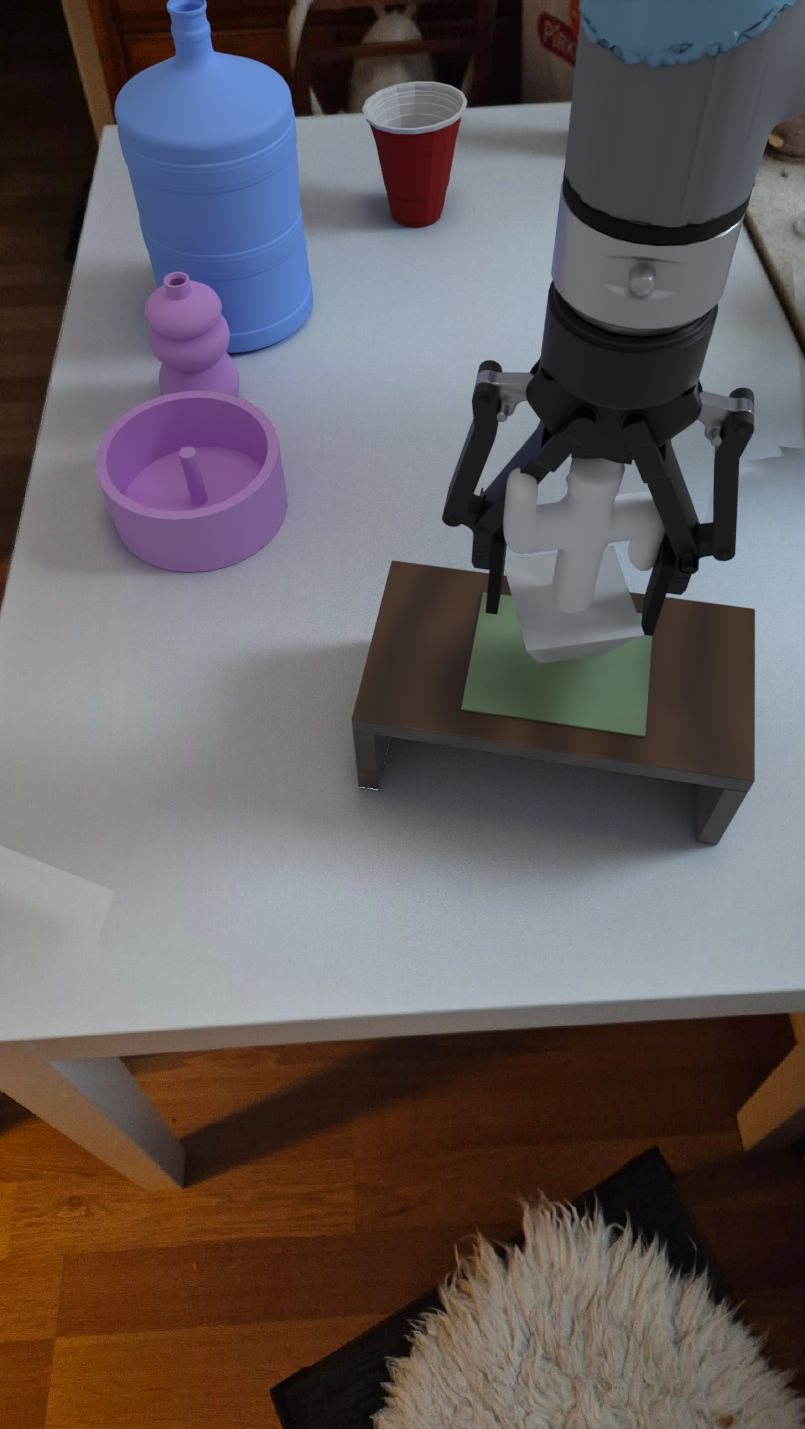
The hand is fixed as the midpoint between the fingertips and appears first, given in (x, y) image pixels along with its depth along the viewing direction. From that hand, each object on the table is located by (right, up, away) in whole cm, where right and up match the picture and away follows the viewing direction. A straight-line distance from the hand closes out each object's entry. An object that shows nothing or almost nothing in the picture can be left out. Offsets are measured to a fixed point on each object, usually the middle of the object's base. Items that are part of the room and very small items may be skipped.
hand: (570, 607), depth 63 cm
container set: (-29, +16, +29) cm, 44 cm away
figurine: (0, -1, +2) cm, 3 cm away
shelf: (0, -8, +13) cm, 15 cm away
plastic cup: (-9, +50, +50) cm, 71 cm away
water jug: (-28, +35, +41) cm, 61 cm away
